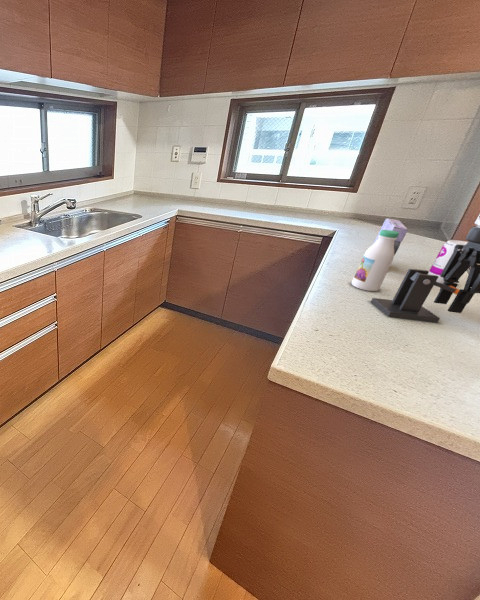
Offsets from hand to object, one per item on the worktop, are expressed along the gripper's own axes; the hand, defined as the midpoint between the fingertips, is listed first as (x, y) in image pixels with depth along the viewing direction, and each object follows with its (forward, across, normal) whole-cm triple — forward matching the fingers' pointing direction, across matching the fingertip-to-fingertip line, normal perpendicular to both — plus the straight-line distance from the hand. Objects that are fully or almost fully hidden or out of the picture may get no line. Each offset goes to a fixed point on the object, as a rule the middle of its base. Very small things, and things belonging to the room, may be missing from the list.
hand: (446, 307), depth 94 cm
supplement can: (+3, -34, +20) cm, 40 cm away
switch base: (+3, 0, -10) cm, 10 cm away
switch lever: (-5, 0, -6) cm, 8 cm away
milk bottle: (+3, -19, -12) cm, 22 cm away
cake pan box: (+3, -49, +6) cm, 49 cm away
